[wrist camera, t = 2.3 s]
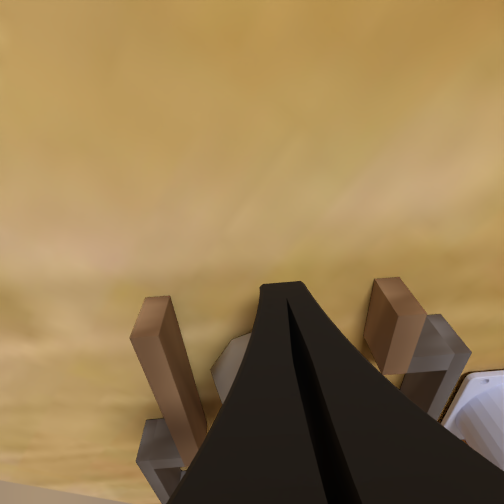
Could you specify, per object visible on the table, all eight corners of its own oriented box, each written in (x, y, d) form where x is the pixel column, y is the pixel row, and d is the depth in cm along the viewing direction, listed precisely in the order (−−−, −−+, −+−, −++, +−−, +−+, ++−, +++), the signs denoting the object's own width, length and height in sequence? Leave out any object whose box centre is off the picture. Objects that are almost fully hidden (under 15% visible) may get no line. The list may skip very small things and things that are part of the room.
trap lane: (456, 272, 14) (494, 308, 12) (373, 489, 28) (384, 523, 26) (87, 302, 14) (62, 343, 12) (187, 504, 28) (184, 539, 26)
